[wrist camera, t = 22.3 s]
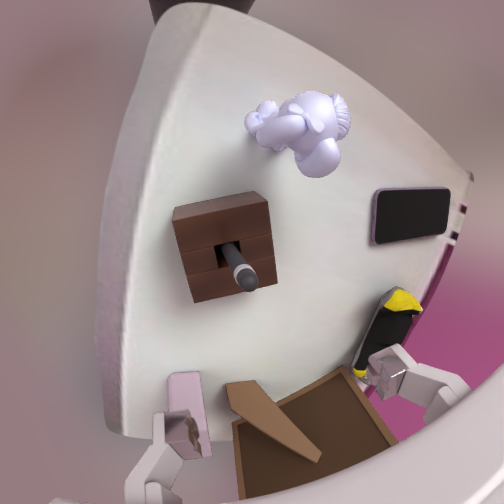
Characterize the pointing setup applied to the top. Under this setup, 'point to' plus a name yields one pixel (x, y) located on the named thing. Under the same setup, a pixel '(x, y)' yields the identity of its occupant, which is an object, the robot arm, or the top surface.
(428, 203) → the smartphone
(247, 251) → the pen block
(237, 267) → the stylus
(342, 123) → the toy figurine
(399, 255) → the top surface
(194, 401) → the electronic device
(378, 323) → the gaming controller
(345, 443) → the photo frame
